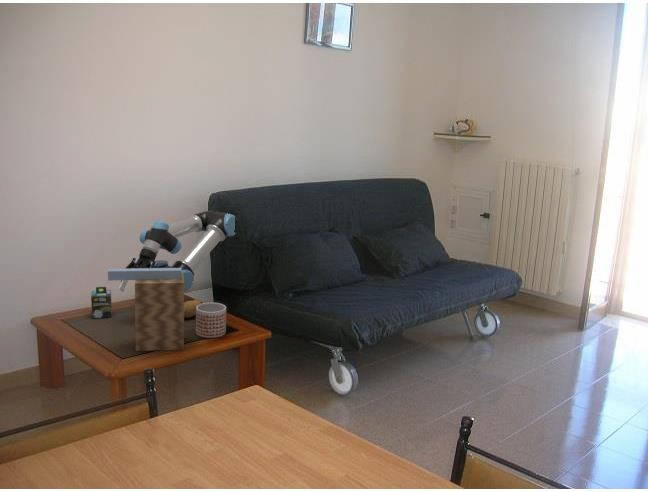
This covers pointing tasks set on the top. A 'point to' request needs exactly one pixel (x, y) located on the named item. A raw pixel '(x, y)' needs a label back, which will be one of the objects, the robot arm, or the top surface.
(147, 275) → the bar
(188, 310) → the potato
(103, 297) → the chalk box
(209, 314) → the planter
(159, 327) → the stand
